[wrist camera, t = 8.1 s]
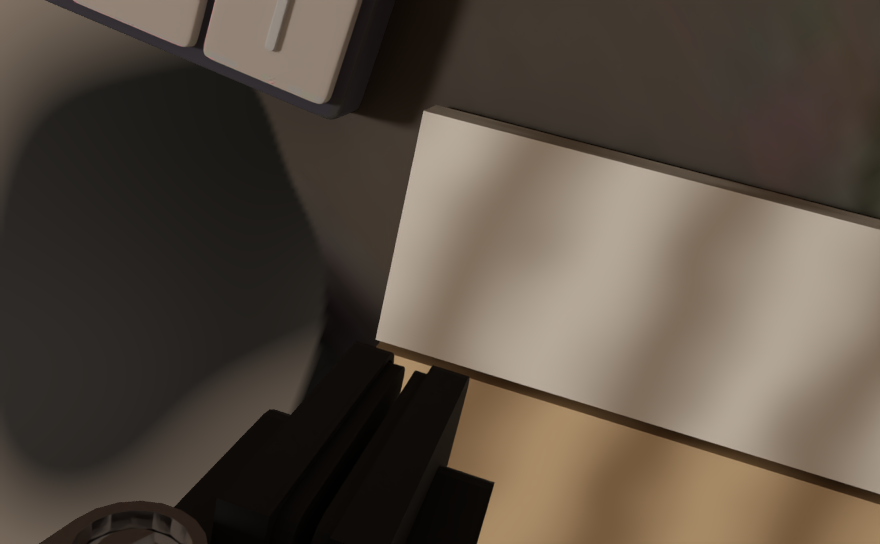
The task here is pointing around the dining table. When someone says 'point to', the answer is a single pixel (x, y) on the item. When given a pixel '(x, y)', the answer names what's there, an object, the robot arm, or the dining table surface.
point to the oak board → (630, 477)
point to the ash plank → (643, 292)
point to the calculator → (263, 42)
